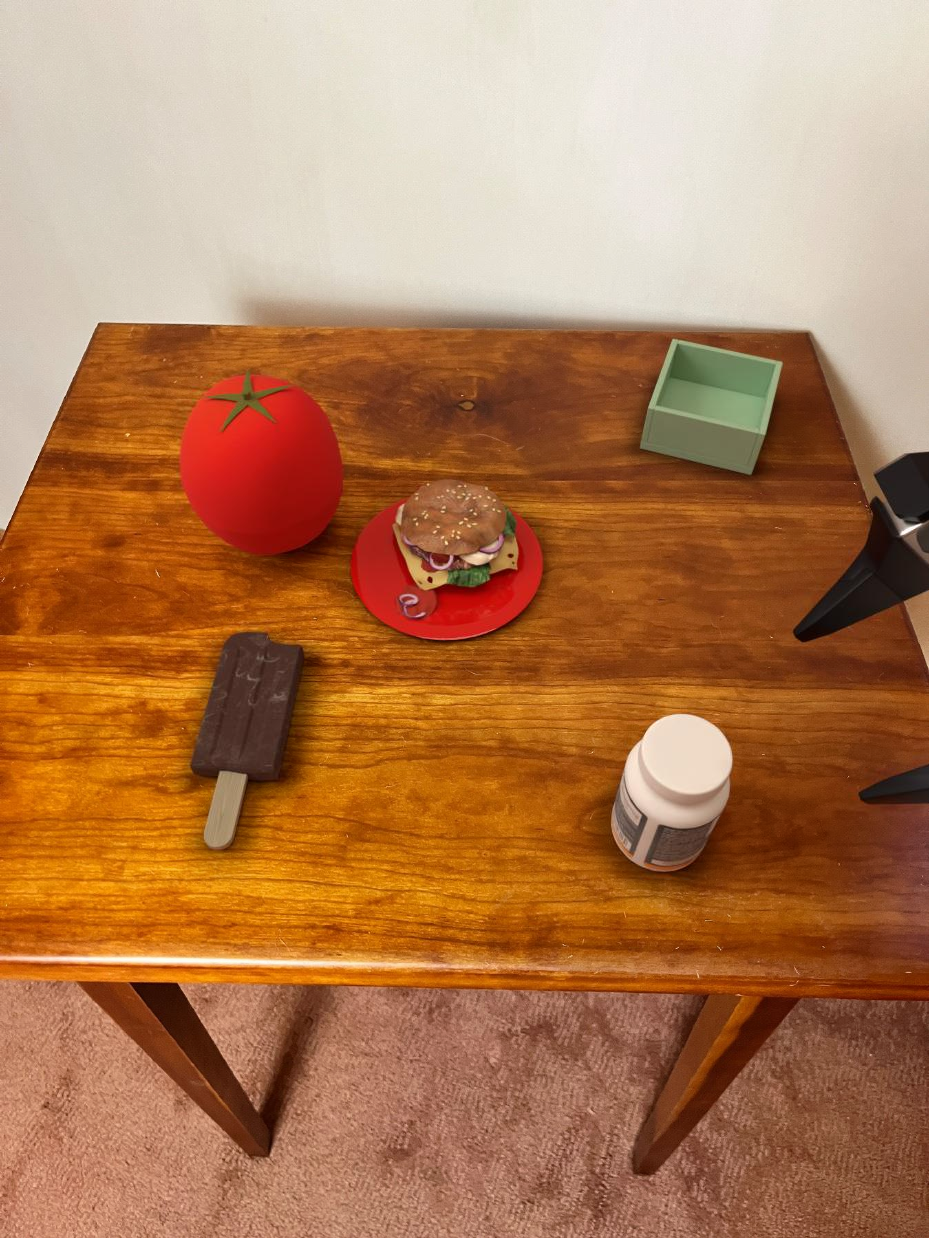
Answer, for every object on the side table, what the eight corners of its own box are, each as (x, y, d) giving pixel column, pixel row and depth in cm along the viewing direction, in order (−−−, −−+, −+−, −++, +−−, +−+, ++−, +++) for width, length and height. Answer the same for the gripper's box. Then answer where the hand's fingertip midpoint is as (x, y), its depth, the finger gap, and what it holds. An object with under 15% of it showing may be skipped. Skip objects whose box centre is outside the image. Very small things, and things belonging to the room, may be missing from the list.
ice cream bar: (262, 856, 54) (307, 646, 63) (257, 846, 52) (303, 633, 61) (174, 850, 54) (232, 642, 63) (167, 839, 53) (226, 628, 61)
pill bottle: (715, 806, 56) (757, 727, 48) (688, 891, 53) (728, 821, 44) (626, 771, 57) (651, 688, 49) (595, 851, 54) (617, 777, 46)
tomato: (343, 590, 65) (319, 460, 55) (193, 585, 66) (141, 456, 55) (360, 477, 72) (342, 342, 62) (224, 473, 72) (183, 338, 62)
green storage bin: (768, 403, 77) (783, 361, 73) (751, 475, 72) (765, 434, 68) (663, 379, 79) (672, 338, 75) (639, 448, 74) (648, 407, 70)
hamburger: (332, 518, 69) (321, 461, 65) (505, 477, 72) (508, 419, 67) (378, 665, 62) (370, 612, 57) (571, 613, 64) (579, 559, 59)
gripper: (1006, 297, 37) (688, 506, 45) (1304, 684, 26) (817, 866, 35) (1082, 426, 44) (795, 587, 52) (1343, 775, 33) (930, 909, 42)
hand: (827, 713), depth 45 cm, fingers open, 9 cm apart
